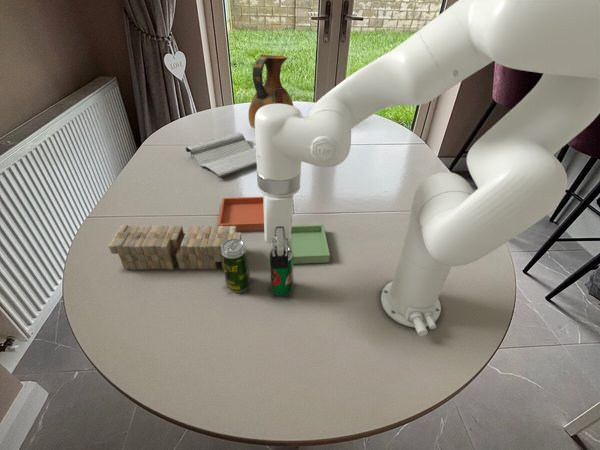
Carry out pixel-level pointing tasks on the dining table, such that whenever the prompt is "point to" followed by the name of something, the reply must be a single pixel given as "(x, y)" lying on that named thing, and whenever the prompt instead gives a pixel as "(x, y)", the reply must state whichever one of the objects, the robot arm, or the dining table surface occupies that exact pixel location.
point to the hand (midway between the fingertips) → (278, 250)
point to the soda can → (282, 276)
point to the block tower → (171, 246)
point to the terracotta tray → (242, 213)
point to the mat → (224, 154)
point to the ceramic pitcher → (268, 85)
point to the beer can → (235, 265)
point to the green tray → (309, 244)
